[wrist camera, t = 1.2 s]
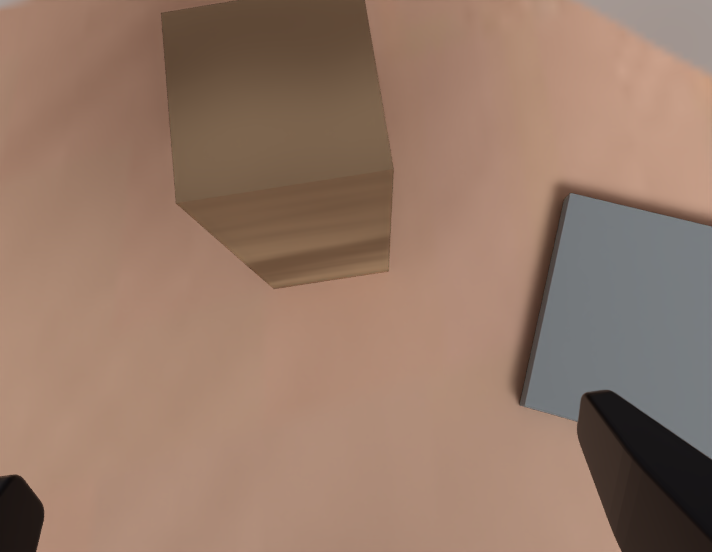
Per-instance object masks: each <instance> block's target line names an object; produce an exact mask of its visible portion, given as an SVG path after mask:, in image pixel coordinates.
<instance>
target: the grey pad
mask: <svg viewBox="0 0 712 552" xmlns="http://www.w3.org/2000/svg"><path fill="white" fill-rule="evenodd" d="M598 390H611V391H613V392H615V393H617V394H618V395H619V396H621V397H622V398H624V399H625V400H627V401H628V402H630V403H631V404H632V405H634V406H635V407H637V408H638V409H640V410H641V411H643V412H644V413H646V414H647V415H648V416H650V417H651V418H653V419H654V420H656V421H657V422H659V423H660V424H661V425H663V426H664V427H666V428H667V429H669V430H670V431H672V432H673V433H674V434H676V435H677V436H679V437H680V438H682V439H683V440H685V441H686V442H688V443H689V444H690V445H692V446H693V447H695V448H696V449H698V450H699V451H701V452H702V453H703V454H705V455H706V456H708V457H709V458H711V459H712V227H711V226H707V225H703V224H699V223H695V222H690V221H686V220H682V219H678V218H674V217H669V216H665V215H661V214H657V213H653V212H648V211H644V210H640V209H636V208H632V207H628V206H623V205H619V204H615V203H611V202H607V201H602V200H598V199H594V198H590V197H586V196H581V195H577V194H573V193H570V194H569V195H568V196H567V197H566V198H565V199H564V202H563V207H562V211H561V216H560V221H559V225H558V230H557V234H556V239H555V244H554V248H553V253H552V258H551V262H550V267H549V271H548V276H547V281H546V285H545V290H544V294H543V299H542V304H541V308H540V313H539V317H538V322H537V327H536V331H535V336H534V341H533V345H532V350H531V354H530V359H529V364H528V368H527V373H526V377H525V382H524V387H523V391H522V396H521V400H520V406H524V407H527V408H531V409H534V410H538V411H542V412H545V413H549V414H552V415H556V416H559V417H563V418H566V419H570V420H573V421H577V422H578V416H579V409H580V401H581V397H582V395H583V394H584V393H586V392H591V391H598Z"/></svg>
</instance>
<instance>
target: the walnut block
mask: <svg viewBox="0 0 712 552" xmlns="http://www.w3.org/2000/svg"><path fill="white" fill-rule="evenodd" d="M161 19H162V32H163V45H164V58H165V70H166V83H167V96H168V109H169V121H170V134H171V147H172V159H173V172H174V185H175V198H176V204H177V205H178V206H180V207H181V208H182V209H183V210H184V211H185V212H186V213H188V214H189V215H190V216H191V217H192V218H193V219H194V220H196V221H197V222H198V223H199V224H200V225H201V226H202V227H204V228H205V229H206V230H207V231H208V232H209V233H210V234H212V235H213V236H214V237H215V238H216V239H217V240H218V241H220V242H221V243H222V244H223V245H224V246H225V247H226V248H228V249H229V250H230V251H231V252H232V253H233V254H234V255H236V256H237V257H238V258H239V259H240V260H241V261H242V262H244V263H245V264H246V265H247V266H248V267H249V268H250V269H252V270H253V271H254V272H255V273H256V274H257V275H258V276H260V277H261V278H262V279H263V280H264V281H265V282H266V283H268V284H269V285H270V286H271V287H272V288H273V289H277V288H283V287H290V286H296V285H303V284H309V283H316V282H323V281H329V280H336V279H342V278H349V277H355V276H362V275H368V274H375V273H381V272H388V271H389V253H390V233H391V212H392V192H393V172H394V168H393V163H392V157H391V151H390V145H389V139H388V133H387V128H386V122H385V116H384V110H383V104H382V98H381V93H380V87H379V81H378V75H377V69H376V63H375V58H374V52H373V46H372V40H371V34H370V28H369V23H368V17H367V11H366V5H365V0H237V1H231V2H225V3H219V4H213V5H207V6H200V7H194V8H188V9H182V10H176V11H170V12H164V13H161Z"/></svg>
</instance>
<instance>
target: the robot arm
mask: <svg viewBox="0 0 712 552" xmlns="http://www.w3.org/2000/svg"><path fill="white" fill-rule="evenodd" d="M577 434H578V439H579V443H580V445H581V448H582V451H583V454H584V456H585V459H586V462H587V464H588V467H589V470H590V472H591V475H592V478H593V481H594V483H595V486H596V489H597V491H598V494H599V497H600V499H601V502H602V505H603V508H604V510H605V513H606V516H607V518H608V521H609V524H610V526H611V529H612V531H613V534H614V536H615V538H616V541H617V543H618V545H619V547H620V549H621V551H622V552H712V459H711V458H709V457H708V456H706V455H705V454H703V453H702V452H701V451H699V450H698V449H696V448H695V447H693V446H692V445H690V444H689V443H688V442H686V441H685V440H683V439H682V438H680V437H679V436H677V435H676V434H674V433H673V432H672V431H670V430H669V429H667V428H666V427H664V426H663V425H661V424H660V423H659V422H657V421H656V420H654V419H653V418H651V417H650V416H648V415H647V414H646V413H644V412H643V411H641V410H640V409H638V408H637V407H635V406H634V405H632V404H631V403H630V402H628V401H627V400H625V399H624V398H622V397H621V396H619V395H618V394H617V393H615V392H613V391H611V390H598V391H591V392H586V393H584V394H583V395H582V397H581V401H580V409H579V416H578V423H577ZM43 521H44V507H43V504H42V502H41V501H40V500H39V498H38V497H37V496H36V494H35V493H34V492H33V490H32V489H31V488H30V487H29V485H28V484H27V483H26V481H25V480H24V479H23V478H22V477H21V476H19V475H7V476H0V552H36V550H37V546H38V542H39V538H40V533H41V529H42V525H43Z"/></svg>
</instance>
